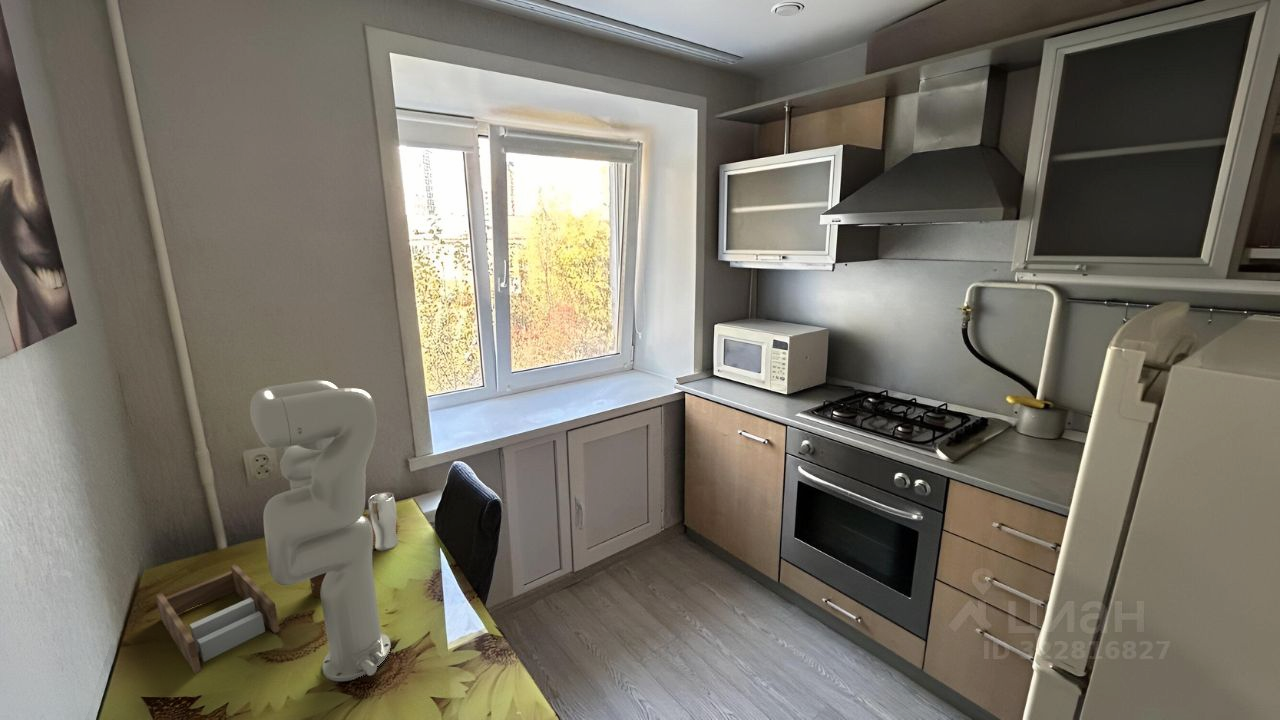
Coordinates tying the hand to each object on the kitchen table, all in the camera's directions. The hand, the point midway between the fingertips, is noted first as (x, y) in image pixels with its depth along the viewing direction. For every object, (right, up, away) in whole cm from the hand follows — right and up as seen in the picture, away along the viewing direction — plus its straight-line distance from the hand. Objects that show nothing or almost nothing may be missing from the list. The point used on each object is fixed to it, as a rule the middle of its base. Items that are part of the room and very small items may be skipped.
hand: (320, 553), depth 127 cm
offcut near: (-13, -14, -12) cm, 23 cm away
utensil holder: (0, -11, +3) cm, 11 cm away
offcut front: (-10, -14, -15) cm, 23 cm away
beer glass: (+5, -6, +23) cm, 25 cm away
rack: (-17, -13, -9) cm, 24 cm away
